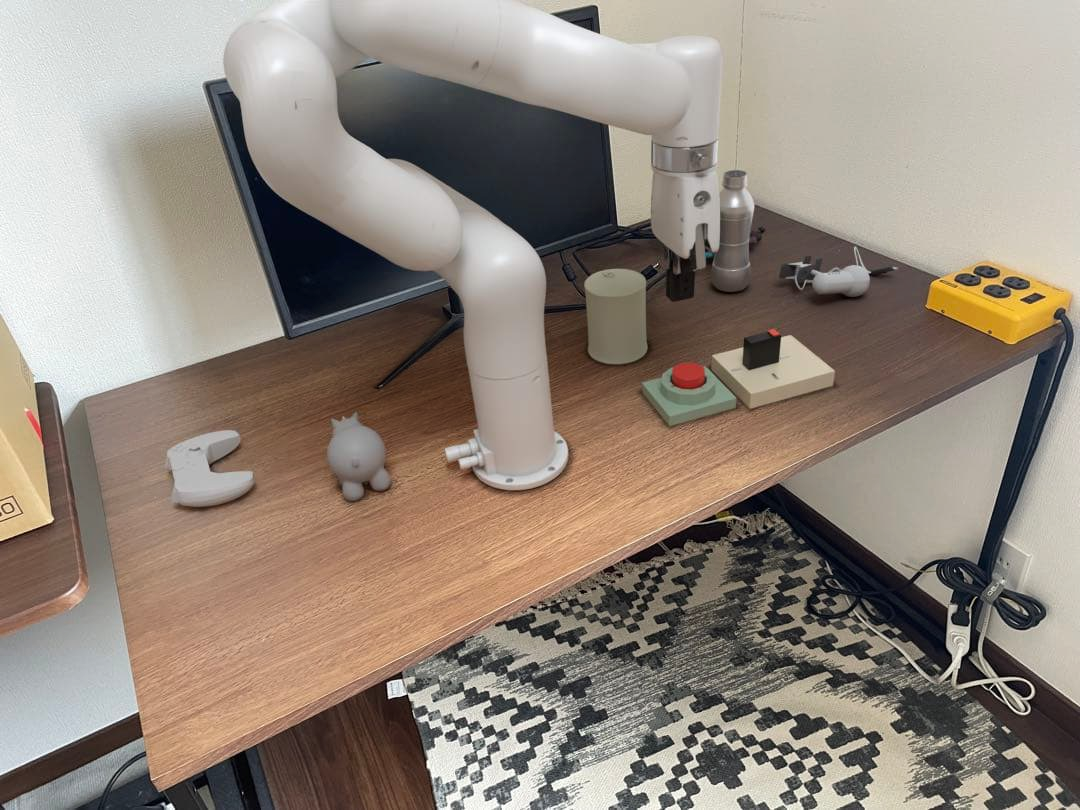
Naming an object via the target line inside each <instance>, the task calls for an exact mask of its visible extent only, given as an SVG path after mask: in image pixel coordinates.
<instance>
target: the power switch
mask: <svg viewBox="0 0 1080 810" xmlns="http://www.w3.org/2000/svg"><path fill="white" fill-rule="evenodd" d="M674 367H675V366H673V367H670V368H668V369H667V370H666V371H664V372H663V373H662V374H661V377H658V378H654V379H650V380H647V381H643V382H641V393H642V394H643V395H644V397H645V398H646V399H647V400H648V402H649V403H650V404H651V406H652V407H653V408H654V409H655V410H656V412H657V413H658V414H659V415H660V416H661V418H662V419H663V421H665V423H666V424H667V425H668V426H669V427H671V426H675V425H679V424H682V423H685V422H690V421H693V420H697V419H701V418H704V417H709V416H711V415H715V414H718V413H722V412H726V411H729V410H733V409H736V408H737V398H738V397H736V396H735V394H733V392H732V391H730V389H729V388H728V387H726V385H725V384H724V383H723V382H722V381H720V380H721V379H720V378H719V377H718V376H717V375H716V374H715V373H714V372H713V371H712V370H710V369H709V367H707V366H705V365H704V366H702V367H703V368H704V370H705V382H704V384H703V386H702V387H700V388H696V389H681V388H678V387H675V386H674V385H673V383H672V370H673V368H674Z"/></svg>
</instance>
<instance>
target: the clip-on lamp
mask: <svg viewBox="0 0 1080 810" xmlns="http://www.w3.org/2000/svg"><path fill="white" fill-rule="evenodd" d="M853 254H854V258H855V262H856V264H851V265H848V266H845V267H844V268H842V269H841V268H840V267H834V268H832V269H830V270H829V271H828V272H821V267H822V262H823V258H822V257H817V258H816V259H815V262H814V263H811V260H812V255H811V254H806V255H805V256H804V259H803V260H796V261H788V262H783V263H781V265H780V270H779V273H778V274H779V276H778V277H779V279H783V280H784V279H791V280H794V283H795V286H796V287H797V289H798V291H800V292H801V291H803V290H804V288H805V286H806V284H811V285H812V289H813V291H814V292H815V293H816V294H817V295H832V294H834V295H835V294H842V295H844V296H846V297H849V298H850V297H851V298H855V297H859V296H862V295H863V294H864V293H866V291H868V289H869V287H870V282H871V279H870V278H871V277H870V274H871V275H874V276H875V275H878V276H880V275H882V274H888V273H889V272H893V271H898V270H899V267H895V266H894V265H893V266H886V267H882V268H877V269H872V270H870V271H869V270H867V268H866V267H865V265H864V263H863V260H862V257H861V255H860V252H859V250H858V248H857V246H854V247H853ZM858 260H859V261H858ZM859 263H860V265H859ZM802 283H803V285H802V287H800V285H799V284H802Z"/></svg>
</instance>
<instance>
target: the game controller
mask: <svg viewBox="0 0 1080 810" xmlns="http://www.w3.org/2000/svg"><path fill="white" fill-rule="evenodd" d="M241 440H242V438H241V435H240V434H239V433H238V432H237V430H232V429H225V430H217V431H216V430H215V431H212V432H208V433H204V434H200V435H198V436H194V437H191V438H188V439H187V440H183V441H182V442H179V443H177V444H175V445H174V446H172V447H170V448H169V449H167V452H166V459H165V463H164V467H165V470H171V472H172V477H173V482H174V483H173V485H174V486H173V488H172V492H171V502H172V503H173V504H180V506H185V507H192V508H193V507H195V508H201V507H202V508H203V507H212V506H218V505H221V504H225V503H228V502H232V501H234V500H235V499H239V498H240V497H242V496H243V495H245V494H247V492H249V491H250V490H251V489H252V488H253V486H254V484H255V473H254V471H252V470H243V471H240V470H239V471H228V472H219V473H218V472H214V471H211V468H210V465H211V464H213V463H214V462H216V461H219V460H220V459H221V458H223V457H225V456H227V455H228V454H230V453H231V452H233V451H234V450H235V449H236V448H237V447H238V446H239V445H240V443H241Z"/></svg>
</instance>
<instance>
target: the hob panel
mask: <svg viewBox="0 0 1080 810" xmlns="http://www.w3.org/2000/svg"><path fill="white" fill-rule="evenodd" d="M742 361H743V346H742V347H738V348H735V349H731V350H727V351H723V352H720V353H715V354H712V355H711V367H710V369H711V370H710V371H711V372H712V373H713V374H714V375H715V376H716V377H717V378H718V379H719V380H721V382H722V383H723V384H724V385H725V386H727V388H728V389H729V390H731V392H732V393H734V395H736V396H737V398H739V400H740V401H742V402H743V404H744V405H745V406H746V407H747V408H748V409H749V410H750V409H751V410H752V409H754V408H757V407H761V406H765V405H768V404H772V403H776V402H781V401H782V400H786V399H790V398H794V397H797V396H801V395H803V394H804V395H805V394H808V393H812V392H815V391H820V390H823V389H827V388H831V387H833V386H834V381H835V374H836V370H834V369H833V368H832V366H830V365H828V364H827V363H826V362H825V361H823V360H822V359H821V358H820V357H819V356H817V354H815V353H813V352H812V351H811V350H810V349H809V348H808V347H806V346H805V345H804V344H802V343H801V342H800V341H799V340H798V339H797V338H795V337H794V336H793V335H791V334H789V335H785V336H781V345H780V355H779V362H778V363H774V364H770V365H767V366H763V367H759V368H756V369H752V370H748V369H747V368H746V367H745V366H744V365H743V364H742Z"/></svg>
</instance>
